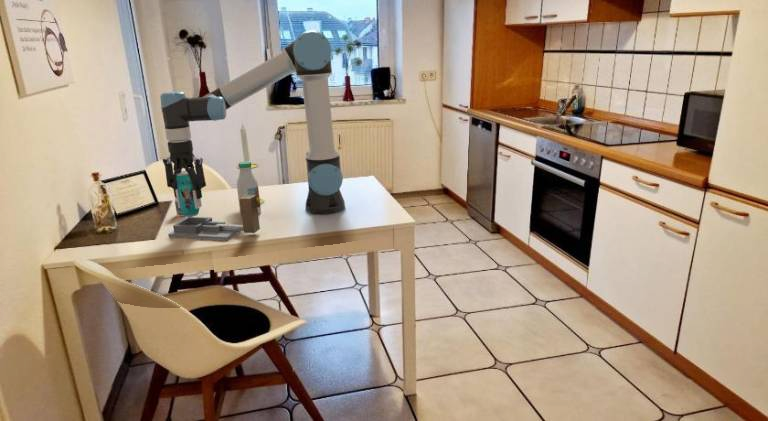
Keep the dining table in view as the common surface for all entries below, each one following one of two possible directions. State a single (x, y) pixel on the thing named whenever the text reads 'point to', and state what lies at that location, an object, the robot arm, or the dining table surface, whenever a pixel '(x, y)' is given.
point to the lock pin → (245, 216)
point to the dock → (201, 229)
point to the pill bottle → (178, 209)
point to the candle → (246, 151)
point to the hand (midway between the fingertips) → (190, 207)
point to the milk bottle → (247, 183)
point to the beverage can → (186, 194)
